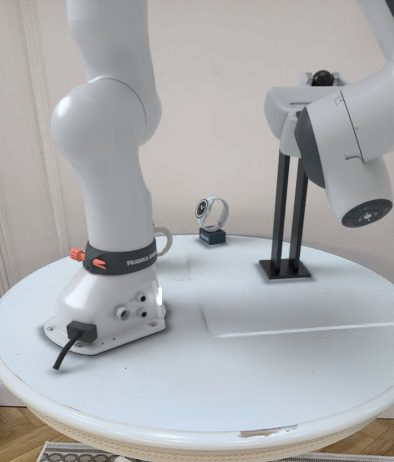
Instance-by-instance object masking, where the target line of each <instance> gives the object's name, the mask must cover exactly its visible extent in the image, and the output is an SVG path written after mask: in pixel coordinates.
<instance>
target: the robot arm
mask: <svg viewBox="0 0 394 462" xmlns="http://www.w3.org/2000/svg"><path fill="white" fill-rule="evenodd" d="M148 1H149V0H65V8H66V16H67V17H66V20H67V26H68V30H69V33H70V35H71V37H72V38H73V39H74V41H75V43H76V45H77V48H78V51H79V53H80V56H81V60H82V64H83V68H84V72H85V76H86V83H83V84H80V85H78V86H75V87H73V88H72V89H71V90H70V91H69V92H67V93H66V94H65V95H64V96H63V97H62V98H61V99H60V100H59V101H58V102H57V103H56V105H55V107H54V108H53V111H52V113H51V117H50V133H51V137H52V141H53V143H54V145H55V147H56V149H57V150H58V153H60V154H61V155H62V156H63V157H64V159H66V160H67V161H68V162H69V163H70V165H71V168H72V170H73V172H74V175H75V178H76V180H77V183H78V186H79V188H80V192H81V195H82V196H81V197H82V201H83V206H84V214H85V221H86V230H87V237H88V240H87V242H86V245H85V249H84V250H82V249H79V248H77V247H72V248H71V249H70V252H68V253H69V259H71V260H73V261H76V262H78V263H81V262H82V263H81V264H82V266H81V267H80V268H79V270H78V271H77V272H76V273H75V274H74V276H73V277H72V278H71V279H70V280H69V281H68V283H67V284H66V285H65V286H64V288H63V289H62V290H61V291H60V293H58V295H57V297H56V300H55V316H54V317H52V318H50V319H49V320H47V321H46V322H44V325H43V330H44V334H45V335H46V337H47V338H48V339H49V340H50V341H51V342H53V343H54V344H56V345H57V346H59V347H61V348H62V349H61V351H60V352H59V354H58V355H57V357H56V359H55V361H54V364H53V366H52V369H54V370H56V371H59V370H60V367H61V365H62V363H63V362H64V359H65V358H66V356H67V355H68V353H69V351H70V352H72V353H76V354H81V355H86V356H94V355H98V354H100V353H103V352H105V351H109V350H112V349H114V348H116V347H119V346H122V345H125V344H129V343H131V342H133V341H136V340H140V339H141V338H144V337H147V336H150V335H153V334H155V333H158V332H161V331H163V330H165V329H166V328H167V327H166V320H165V317H166V314H167V308H166V306H165V303H164V300H163V297H162V287H160V285H159V284H160V283H159V278H158V274H157V265H156V262H157V260H158V257H157V253H158V248H157V239H156V237H155V236H153V220H154V217H153V215H154V214H153V198H152V197H153V196H152V192H151V190H150V189H149V187H147V184H146V182H145V179H144V175H143V172H142V168H141V164H140V158H139V150H140V148H141V146H142V147H143V146H144V145H145V144H147V143H148V142H149V141H150V140H151V139H152V138H153V136H154V134H155V133H156V131H157V130H158V127H159V125H160V122H161V120H162V114H163V107H162V101H161V97H160V96H159V93H158V92H157V86H156V85H157V84H156V77H155V71H154V66H153V58H152V52H151V46H150V45H151V44H150V36H149V12H148V11H149V7H148V6H149V3H148ZM353 1H354V2H355V4H356V5H357V6H358V8H359V9H360V12H361V13H362V15H363V17H364V19H365V21H366V23H367V25H368V28H369V29H370V31H371V33H372V35H373V37H374V39H375V41H376V43H377V45H378V47H379V49H380V51H381V53H382V55H383V57H384V59H385V63H384V66H383V67H382V68H381V69H379V70H377V71H376V72H374V73H372V74H369V75H368V76H365V77H363V78H362V79H359V80H357V81H355V82H353V83H351V82H350V81H349V80H347V79H346V78H344V77H343V74H342V72H340V71H339V72H330V73H331V74H332V76H333V86H318V87H311V85H312V84H311V83H312V82H313V79H314V78H313V73H312V72H302V73H301V76H300V79H299V82H300V85H299V86H271V87H270V88H269V89H268V91H267V92H266V95H265V99H264V104H263V111H264V115H265V119H266V122H267V124H268V127H269V129H270V131H271V133H272V135H273V136H274V137H275V138H276V139H277V140H279V148H280V151H281V153H283V154H285V155H289V156H290V157H293V158H301V159H302V163H303V167H304V170H305V173H306V175H307V177H308V178H309V179H308V181H310V182H312V183H313V184H315V185H316V186H317V187H319V188H321V189H323V190H324V193H325V195H326V198H327V201H328V203H329V205H330V207H331V210H332V211H333V214H334V216H335V217H336V219H337V220H338V223H340V225H341V226H342V227H345V228H349V229H355V228H361V227H362V228H363V227H365V226H368V225H371V224H374V223H376V222H378V221H380V220H382V219H383V218H384V217H386V216H387V215H388V214H389V213H390V212H391V211H392V209H393V208H394V193H393V192H394V191H393V187H392V184H391V183H392V182H391V178H390V175H389V170H388V168H387V165H386V162H385V158H384V156H385V155H388V154H390V153H392V152H394V0H353Z"/></svg>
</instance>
